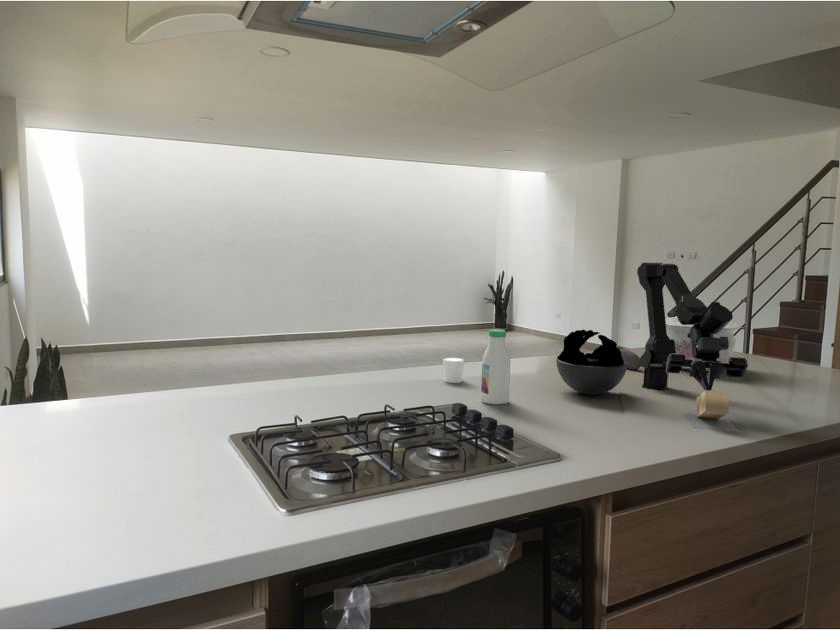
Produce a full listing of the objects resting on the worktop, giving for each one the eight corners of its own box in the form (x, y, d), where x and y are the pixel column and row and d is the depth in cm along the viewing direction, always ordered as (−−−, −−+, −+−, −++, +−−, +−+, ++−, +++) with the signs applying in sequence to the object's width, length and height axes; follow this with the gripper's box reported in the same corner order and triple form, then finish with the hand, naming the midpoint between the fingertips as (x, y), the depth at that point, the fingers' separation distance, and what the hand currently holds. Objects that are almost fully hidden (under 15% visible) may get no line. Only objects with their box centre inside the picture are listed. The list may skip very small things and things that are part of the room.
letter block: (696, 397, 150) (705, 389, 141) (717, 399, 149) (727, 391, 140) (696, 417, 149) (705, 410, 140) (718, 419, 148) (728, 412, 138)
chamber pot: (753, 377, 201) (758, 317, 198) (673, 375, 201) (677, 315, 199) (713, 361, 228) (718, 308, 226) (643, 359, 229) (646, 307, 226)
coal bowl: (558, 383, 185) (561, 324, 183) (625, 389, 179) (629, 328, 177) (550, 398, 167) (553, 333, 164) (625, 406, 160) (629, 338, 158)
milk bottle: (511, 399, 164) (514, 329, 162) (506, 406, 157) (508, 332, 155) (484, 396, 167) (486, 327, 165) (478, 403, 160) (480, 331, 157)
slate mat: (681, 410, 157) (681, 409, 157) (722, 413, 154) (722, 412, 154) (693, 429, 140) (693, 427, 140) (739, 433, 138) (739, 431, 138)
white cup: (439, 381, 184) (439, 360, 183) (446, 377, 191) (447, 356, 190) (460, 384, 182) (460, 362, 181) (466, 379, 188) (467, 358, 187)
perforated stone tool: (645, 371, 207) (646, 352, 206) (634, 372, 205) (635, 353, 204) (615, 363, 221) (616, 345, 220) (604, 364, 218) (605, 346, 218)
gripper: (670, 323, 154) (674, 372, 145) (748, 326, 150) (758, 378, 140) (664, 347, 163) (667, 396, 153) (738, 352, 158) (746, 402, 149)
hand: (708, 392), depth 149 cm, fingers closed
